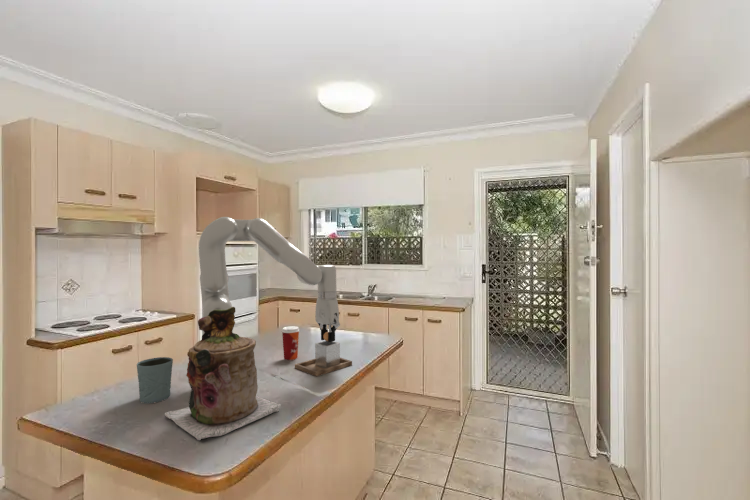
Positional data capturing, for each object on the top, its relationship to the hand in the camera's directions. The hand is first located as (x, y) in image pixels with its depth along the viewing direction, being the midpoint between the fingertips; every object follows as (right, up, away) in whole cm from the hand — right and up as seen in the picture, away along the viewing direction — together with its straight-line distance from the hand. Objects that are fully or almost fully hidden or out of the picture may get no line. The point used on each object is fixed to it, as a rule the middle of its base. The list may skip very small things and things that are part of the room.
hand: (328, 340), depth 150 cm
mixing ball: (0, 0, 0) cm, 0 cm away
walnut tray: (-2, -11, -1) cm, 11 cm away
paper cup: (-18, -11, +11) cm, 23 cm away
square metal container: (0, -10, 0) cm, 10 cm away
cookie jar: (-25, -12, -41) cm, 50 cm away
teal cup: (-53, -12, -29) cm, 61 cm away
